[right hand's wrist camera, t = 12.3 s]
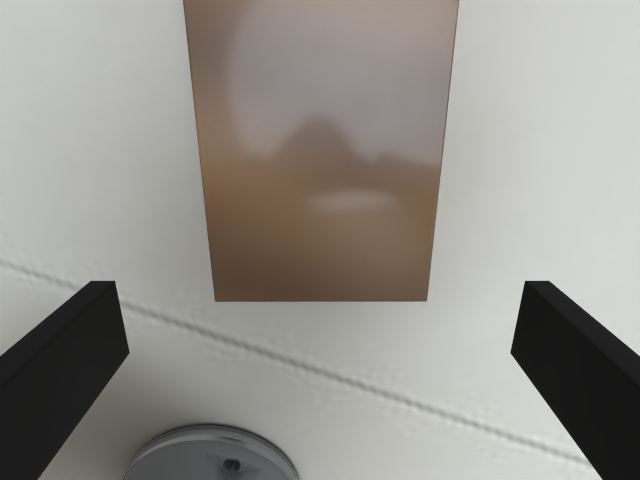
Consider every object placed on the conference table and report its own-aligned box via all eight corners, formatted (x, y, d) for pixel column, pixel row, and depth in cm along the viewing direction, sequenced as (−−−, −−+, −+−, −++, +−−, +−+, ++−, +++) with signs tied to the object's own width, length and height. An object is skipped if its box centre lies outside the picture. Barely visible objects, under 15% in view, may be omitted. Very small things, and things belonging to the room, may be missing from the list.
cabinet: (215, -147, 20) (151, -290, 12) (426, -147, 20) (490, -290, 12) (243, 244, 27) (214, 302, 20) (397, 244, 27) (427, 301, 20)
